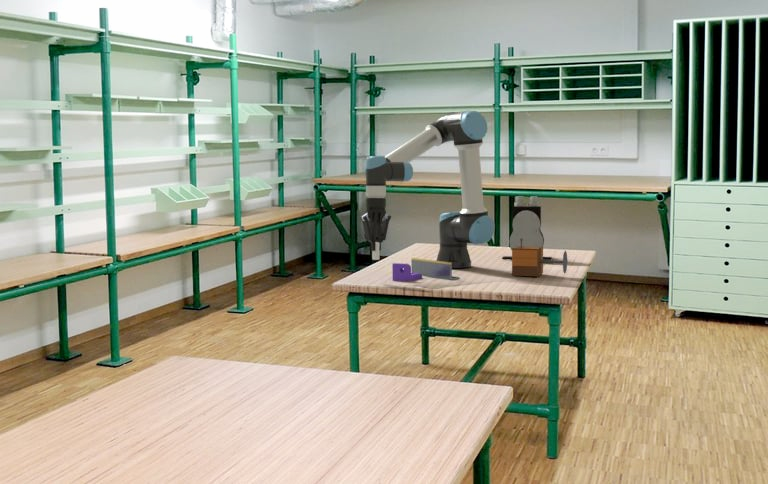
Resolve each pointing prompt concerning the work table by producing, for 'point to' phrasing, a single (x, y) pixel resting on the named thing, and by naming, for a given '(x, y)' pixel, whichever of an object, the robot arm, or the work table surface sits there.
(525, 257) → the brown box with disc
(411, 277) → the bracket
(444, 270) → the wall
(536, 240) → the mechanical component
